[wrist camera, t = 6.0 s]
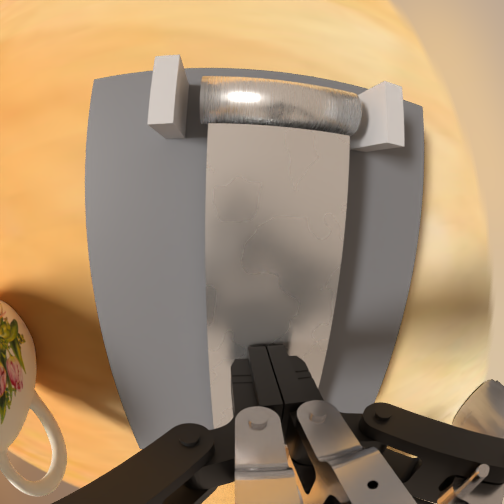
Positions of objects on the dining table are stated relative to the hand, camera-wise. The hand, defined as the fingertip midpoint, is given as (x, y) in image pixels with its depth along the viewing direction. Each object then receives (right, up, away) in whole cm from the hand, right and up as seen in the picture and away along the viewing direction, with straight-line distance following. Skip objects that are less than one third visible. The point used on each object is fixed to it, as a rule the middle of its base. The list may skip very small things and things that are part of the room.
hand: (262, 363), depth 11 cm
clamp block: (0, +3, +5) cm, 6 cm away
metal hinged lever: (0, +2, +1) cm, 3 cm away
